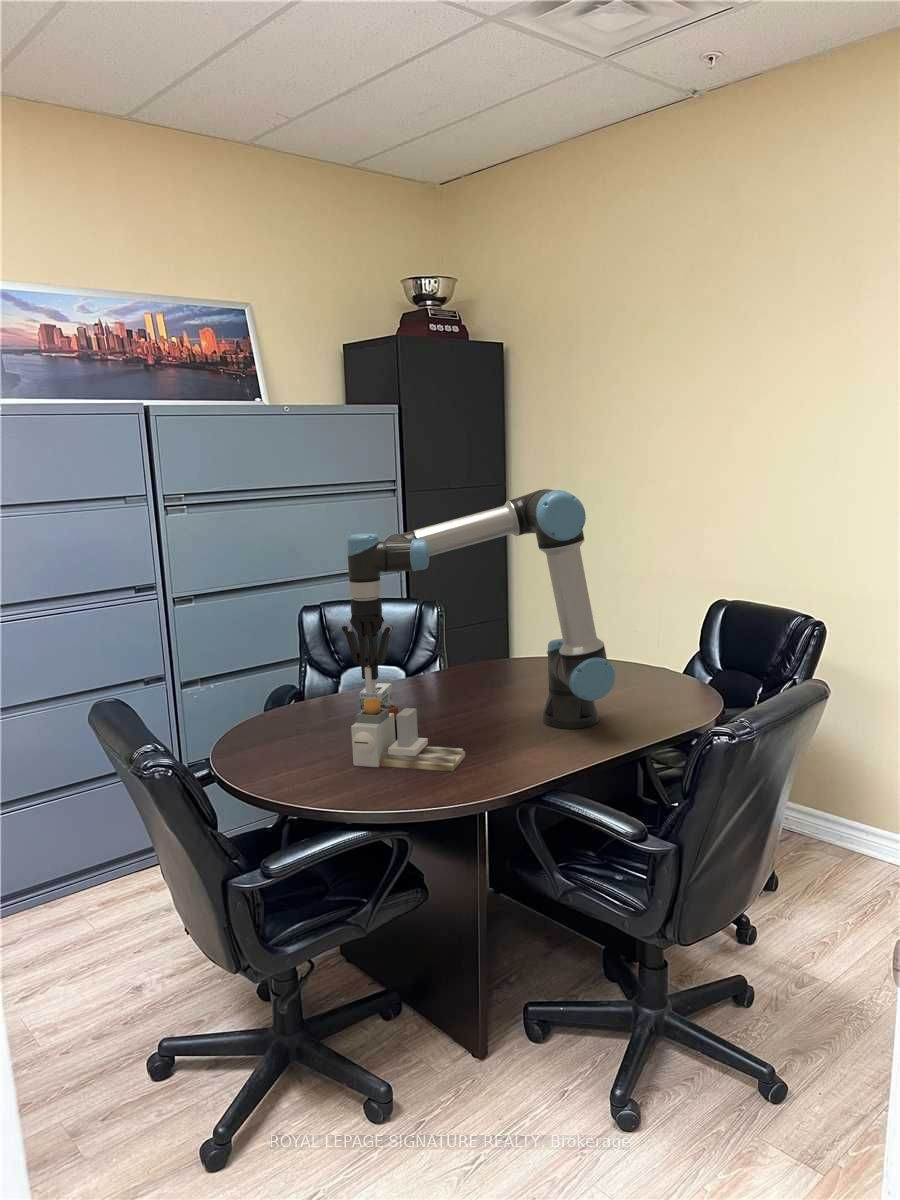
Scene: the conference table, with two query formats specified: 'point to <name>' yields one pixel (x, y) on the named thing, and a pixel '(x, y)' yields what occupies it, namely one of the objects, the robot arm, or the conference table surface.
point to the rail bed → (426, 759)
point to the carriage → (407, 734)
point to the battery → (391, 710)
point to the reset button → (372, 705)
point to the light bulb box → (378, 694)
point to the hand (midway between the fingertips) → (370, 691)
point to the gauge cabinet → (372, 737)
